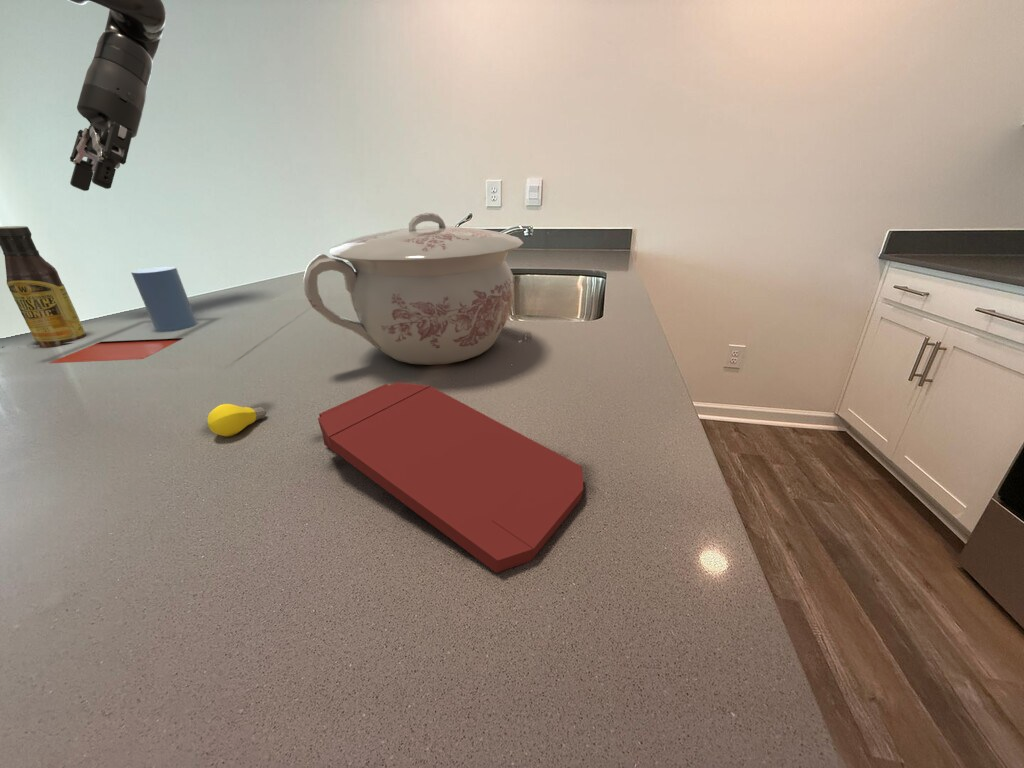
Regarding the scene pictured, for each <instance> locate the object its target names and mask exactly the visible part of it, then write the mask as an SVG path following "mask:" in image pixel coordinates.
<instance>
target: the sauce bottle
mask: <svg viewBox="0 0 1024 768" xmlns="http://www.w3.org/2000/svg"><path fill="white" fill-rule="evenodd" d="M32 238H33V237H32V232H31V230H30V228H29V227H28V226H26V225H9V226H8V225H7V226H4V225H3V226H0V248H1V250H2V253H3V254H2V255H4V264H5V275H6V285H7V287H8V289H9V292H10V293H11V295H12V297H13V300H14V302H15V304H16V306H17V307H18V309H19V311H20V314H21V316H22V317H23V319H24V322H25V324H26V326H27V327H28V329H29V331H30V333H31V335H32V337H33V340H34V341H35V342H36V343H37V344H38V346H39V347H40V348H55V347H56V348H57V347H62V346H67V345H72V344H73V342H72V341H76V340H79V339H83V338H84V337H85V336H86V331H85V329H84V326H83V325H82V322H81V320H80V317H79V315H78V314H77V313H78V312H77V311H76V308H75V306H74V304H73V302H72V300H71V298H70V296H69V293H68V291H67V289H66V286H65V284H64V283H63V282H62V280H61V278H60V274H59V273H58V270H57V268H55V267H54V266H53V265H52V264H51V263H49V262H48V261H46V259H45V258H43V256H41V255H40V251H39V249H37V246H36V244H35V242H34V241H33V239H32Z"/></svg>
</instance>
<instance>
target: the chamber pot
mask: <svg viewBox="0 0 1024 768" xmlns="http://www.w3.org/2000/svg"><path fill="white" fill-rule="evenodd" d="M424 222H425V223H426V222H432V223H435V224H438V226H418V225H419V224H422V223H424ZM417 226H418V227H417ZM523 244H524V241H522V239H520V237H518V236H514V235H509V233H505V232H500V231H494V230H488V229H483V228H472V227H461V226H446V223H445V222H444V219H443V218H442V217H441V216H440V215H439V214H437V213H433V212H423V213H420V214H417V215H415V216H414V217H412V219H411V220H410V221H409V223H408V227H405V228H398V229H392V230H387V231H380V232H375V233H371V234H370V233H369V234H365V235H362V236H357V237H354V238H349V239H347V240H345V241H343V242H341V243H338V244H335V245H334V246H331V247H330V248H329V250H328V251H329V254H330V255H331V256H332V257H329V256H328V255H327V254H325V253H320V254H317V255H316V256H315V257H314V258H312V259H310V261H309V263H308V264H307V266H306V268H305V270H304V275H303V279H302V282H303V289H304V296H305V297H306V299H307V301H308V303H309V304H310V306H311V308H312V309H313V310H315V311H316V312H317V313H319V314H320V315H321V316H322V317H323V318H324V319H326V320H327V321H329V323H332V324H334V325H336V326H339V327H342V328H344V329H347V330H349V331H352V332H353V333H354V334H356V335H358V336H360V337H361V338H362V339H364V340H365V341H366V342H368V343H369V344H370V345H372V346H373V347H374V348H376V349H379V350H380V351H382V353H384V354H385V355H387V356H389V357H390V358H392V359H394V360H395V361H398V362H402V363H407V364H411V365H423V366H424V365H426V366H434V365H435V366H439V365H440V366H441V365H449V364H454V363H460V362H463V361H466V360H469V359H471V358H476V357H478V356H480V355H481V354H483V353H485V352H487V351H488V350H489V349H490V348H492V346H493V345H494V344H495V342H496V341H497V340H498V338H499V336H500V334H501V332H502V331H503V329H504V327H505V325H506V324H507V322H508V320H509V319H510V317H511V312H512V307H513V301H514V295H515V275H514V274H513V272H512V270H511V268H510V265H509V264H508V262H507V261H506V260H507V257H508V254H509V252H512V251H515V250H517V249H518V248H520V247H521V246H522V245H523ZM344 260H345V261H344ZM346 261H347V262H349V263H350V264H351V265H350V264H348V263H347V262H346ZM329 271H333V272H334V271H335V272H338V273H341V274H342V276H343V280H344V286H345V290H346V291H347V292H348V294H349V298H350V299H349V300H350V303H351V304H352V307H353V309H354V311H355V314H356V317H357V319H358V320H354V319H350V318H347V317H344V316H340V315H339V314H337V312H335V311H334V310H332V309H331V308H330V307H328V306H327V305H326V304H325V303H324V301H323V299H322V297H321V295H320V291H319V284H318V279H319V275H321V274H322V273H325V272H329Z"/></svg>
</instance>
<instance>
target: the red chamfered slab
mask: <svg viewBox="0 0 1024 768" xmlns="http://www.w3.org/2000/svg"><path fill="white" fill-rule="evenodd" d="M318 416H319V417H317V421H318V424H319V428H320V431H321V433H322V439H323V444H324V446H326V447H327V448H328V449H329V450H331V451H332V452H333V453H335V454H337V455H338V456H339V457H341V458H342V459H344V460H345V461H346V462H348V463H349V464H350V465H352V466H353V467H354V468H356V469H357V470H358V471H360V472H361V473H362V474H363V475H365V476H366V477H368V478H369V479H371V481H373V482H374V483H376V484H377V485H378V486H380V487H381V488H382V489H384V490H385V491H386V492H388V493H389V494H390V495H392V496H393V497H394V498H395V499H397V500H398V501H400V502H401V503H403V504H404V505H405V506H406V507H408V508H409V509H410V510H411V511H413V512H414V513H416V514H417V515H418V516H420V517H421V518H423V519H424V520H425V521H426V522H427V523H429V524H430V525H431V526H433V527H434V528H435V529H437V530H438V531H440V532H441V533H442V534H444V535H445V536H446V537H447V538H449V539H450V540H451V541H453V542H454V543H456V544H457V545H458V546H460V547H461V548H462V549H464V550H465V551H466V552H468V553H469V554H470V555H472V556H473V557H474V558H476V560H478V561H479V562H481V563H482V564H483V565H484V566H486V567H487V568H489V569H490V570H491V571H493V572H494V573H495V574H497V573H500V572H503V571H506V570H509V569H513V568H514V567H517V566H521V565H523V564H526V563H529V562H532V561H533V560H534V558H535V557H536V556H537V555H538V553H539V552H540V551H541V550H542V549H543V547H544V546H545V545H546V544H547V543H548V541H549V540H550V539H551V537H552V536H553V535H554V534H555V533H556V531H557V530H558V529H559V527H560V526H561V525H562V524H563V523H564V521H565V520H566V519H567V518H568V516H569V515H570V514H571V513H572V511H573V510H574V509H575V508H576V506H578V504H579V503H580V501H581V500H582V496H583V492H584V473H583V472H584V471H583V466H582V465H581V464H579V463H576V462H574V461H572V460H571V459H569V458H567V457H565V456H563V455H562V454H560V453H558V452H556V451H554V450H552V449H550V448H548V447H546V446H544V445H542V444H541V443H539V442H537V441H535V440H533V439H531V438H529V437H527V436H526V435H523V434H522V433H520V432H518V431H516V430H514V429H512V428H510V427H509V426H507V425H505V424H503V423H501V422H499V421H497V420H496V419H493V418H492V417H490V416H487V415H486V414H484V413H482V412H480V411H478V410H476V409H474V408H473V407H471V406H469V405H467V404H465V403H463V402H462V401H459V400H458V399H456V398H454V397H452V396H451V395H448V394H446V393H445V392H443V391H441V390H440V389H439V390H438V389H437V388H435V387H433V386H431V385H425V384H419V383H418V384H415V383H408V382H398V381H396V382H393V383H391V384H388V383H384V384H382V385H380V386H378V387H375V388H373V389H371V390H369V391H367V392H364V393H363V394H360V395H357V396H355V397H353V398H351V399H348V400H347V401H345V402H342V403H340V404H338V405H335V406H333V407H331V408H328V409H327V410H324V411H322V412H320V413H318Z"/></svg>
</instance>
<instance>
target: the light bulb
mask: <svg viewBox="0 0 1024 768" xmlns="http://www.w3.org/2000/svg"><path fill="white" fill-rule="evenodd" d="M266 415H267V410H266V409H264V408H263V407H262V406H259V407H255V408H252V407H250V406H249V407H248V406H241V405H236V404H231V403H222V404H220V405H217V406H216V407H215V408H213V409H212V410H211V411H210V412H209V413H208V415H207V420H206V422H207V426H208V428H209V430H210V431H211V432H212V433H214V434H216V435H219V436H222V437H233V436H235V435H237V434H239V433H240V432H241V431H242V430H244V429H245V428H247V426H249V425H252V424H253V423H254V422H255V421H258V420H259V421H260V420H263V419H265V418H266Z"/></svg>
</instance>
